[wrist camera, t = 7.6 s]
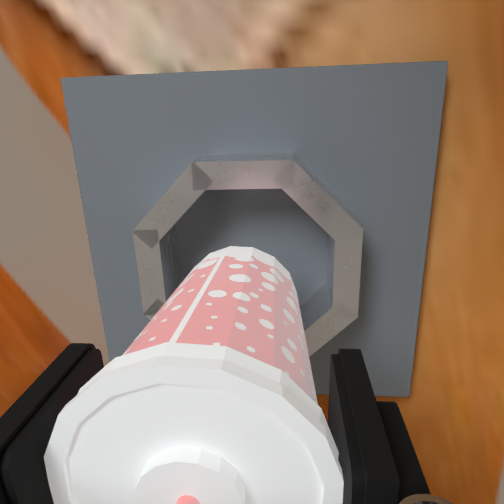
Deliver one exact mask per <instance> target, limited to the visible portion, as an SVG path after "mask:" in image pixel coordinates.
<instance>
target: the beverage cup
mask: <svg viewBox="0 0 504 504" xmlns="http://www.w3.org/2000/svg"><path fill="white" fill-rule="evenodd" d="M338 456H339V452H338V449H337V447H336V444H335V442H334V439H333V437H332V434H331V431H330V429H329V426H328V424H327V421H326V419H325V416H324V414H323V411H322V409H321V408H320V407H319V406H318V402H317V397H316V391H315V386H314V381H313V376H312V370H311V365H310V360H309V354H308V349H307V344H306V339H305V333H304V328H303V323H302V317H301V312H300V307H299V301H298V296H297V292H296V289H295V286H294V284H293V281H292V278H291V276H290V273H289V272H288V271H287V270H286V269H285V268H284V267H283V265H282V264H281V263H280V262H279V261H278V260H277V259H276V258H275V257H274V256H271V255H269V254H267V253H265V252H263V251H260V250H258V249H256V248H254V247H238V246H229V247H227V248H224V249H221V250H218V251H215V252H212V253H209V254H208V255H207V256H206V257H205V258H204V259H203V260H202V261H201V262H200V263H198V264H197V265H196V266H195V267H194V268H193V269H192V271H191V272H190V273H189V274H188V276H187V277H186V278H185V279H184V280H183V282H182V283H181V284H180V285H179V287H178V288H177V289H176V290H175V291H174V293H173V294H172V295H171V296H170V298H169V299H168V300H167V301H166V302H165V304H164V305H163V306H162V307H161V309H160V310H159V311H158V312H157V313H156V315H155V316H154V317H153V318H152V319H151V321H150V322H149V323H148V324H147V326H146V327H145V328H144V329H143V330H142V332H141V333H140V334H139V335H138V337H137V338H136V339H135V340H134V341H133V343H132V344H131V345H130V346H129V348H128V349H127V350H126V351H125V352H124V354H123V355H122V356H119V357H116V358H114V359H113V360H112V361H111V362H110V363H108V364H107V365H106V366H105V367H104V368H103V369H102V370H100V371H99V372H98V373H97V374H96V375H95V376H94V377H93V378H91V379H90V380H89V381H88V382H87V383H86V384H85V385H84V386H82V387H81V388H80V389H79V392H78V394H77V395H76V396H75V397H74V398H73V399H72V400H71V401H70V402H69V403H67V404H66V405H65V407H64V408H63V409H62V411H61V412H60V413H59V414H58V417H57V420H56V423H55V426H54V429H53V432H52V435H51V437H50V440H49V443H48V446H47V449H46V452H45V455H44V461H45V467H46V472H47V477H48V483H49V487H50V490H51V494H52V498H53V502H54V504H343V487H344V480H343V473H342V469H341V466H340V463H339V461H338Z"/></svg>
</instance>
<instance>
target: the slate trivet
mask: <svg viewBox="0 0 504 504" xmlns="http://www.w3.org/2000/svg"><path fill="white" fill-rule="evenodd" d="M447 67H448V61H431V62H409V63H386V64H363V65H341V66H318V67H295V68H272V69H250V70H227V71H204V72H182V73H159V74H136V75H114V76H91V77H68V78H61V84H62V89H63V95H64V101H65V107H66V112H67V118H68V124H69V130H70V135H71V141H72V147H73V152H74V158H75V164H76V170H77V176H78V182H79V187H80V193H81V198H82V204H83V210H84V215H85V222H86V227H87V233H88V239H89V245H90V251H91V256H92V262H93V268H94V273H95V279H96V285H97V291H98V297H99V302H100V308H101V314H102V320H103V325H104V331H105V336H106V342H107V348H108V354H109V360H110V362H111V361H112V360H113V359H114V358H116V357H119V356H122V355H123V354H124V352H125V351H126V350H127V349H128V348H129V346H130V345H131V344H132V343H133V341H134V340H135V339H136V338H137V337H138V335H139V334H140V333H141V332H142V330H143V329H144V328H145V327H146V326H147V324H148V323H149V322H150V321H151V320H150V319H148V318H147V317H146V316H145V315H144V314H143V305H142V298H141V291H140V283H139V276H138V268H137V261H136V254H135V246H134V239H133V232H132V230H133V229H134V228H135V227H136V226H137V225H138V224H139V223H140V222H141V220H142V219H143V218H144V217H145V216H146V215H147V214H148V212H149V211H150V210H151V209H152V208H153V207H154V205H155V204H156V203H157V202H158V201H159V200H160V199H161V197H162V196H163V195H164V194H165V193H166V192H167V190H168V189H169V188H170V187H171V186H172V185H173V184H174V182H175V181H176V180H177V179H178V178H179V177H180V175H181V174H182V173H183V172H184V171H185V170H186V169H187V167H188V166H189V165H190V164H191V162H192V161H194V160H196V159H198V158H200V157H202V156H204V155H206V154H207V155H221V154H261V153H291V152H292V153H294V155H295V156H296V157H297V158H298V159H299V160H300V161H301V162H302V163H303V164H304V165H305V166H306V167H307V168H308V169H309V170H310V171H311V172H312V173H313V174H314V175H315V176H316V177H317V178H318V179H319V180H320V181H321V182H322V183H323V184H324V185H325V186H326V187H327V188H328V189H329V190H330V191H331V192H332V193H333V194H334V195H335V196H336V197H337V198H338V199H339V200H340V201H341V202H342V203H344V204H345V205H346V206H347V207H348V208H349V209H350V210H351V211H352V212H353V213H354V214H355V216H356V218H357V219H358V221H359V222H360V224H361V226H362V227H363V229H364V230H363V241H362V257H361V274H360V290H359V307H358V316H359V317H358V318H356V319H355V320H354V321H353V322H351V323H350V324H349V325H348V326H346V327H345V328H344V329H343V330H342V331H340V332H339V333H338V334H337V335H335V336H334V337H333V338H332V339H331V340H329V341H328V342H327V343H326V344H324V345H323V346H322V347H321V348H320V349H318V350H317V351H316V352H315V353H313V354H312V355H311V356H310V357H309V360H310V365H311V370H312V376H313V381H314V386H315V391H316V394H326V395H329V381H330V356H331V354H338V350H339V348H341V349H361V352H362V355H363V359H364V362H365V365H366V369H367V372H368V375H369V379H370V382H371V385H372V389H373V392H374V395H375V396H393V397H409V394H410V386H411V377H412V368H413V360H414V351H415V343H416V334H417V325H418V317H419V308H420V300H421V291H422V282H423V274H424V265H425V257H426V248H427V239H428V231H429V222H430V213H431V205H432V196H433V188H434V179H435V170H436V162H437V153H438V145H439V136H440V127H441V119H442V110H443V102H444V93H445V84H446V76H447ZM176 228H177V238H178V248H179V259H180V269H181V279H182V282H183V280H184V279H185V278H186V277H187V276H188V274H189V273H190V272H191V271H192V269H193V268H194V267H195V266H196V265H197V264H198V263H200V262H201V261H202V260H203V259H204V258H205V257H206V256H207V255H208V254H209V253H212V252H215V251H218V250H221V249H224V248H227V247H229V246H238V247H254V248H256V249H258V250H260V251H263V252H265V253H267V254H269V255H271V256H274V257H275V258H276V259H277V260H278V261H279V262H280V263H281V264H282V265H283V267H284V268H285V269H286V270H287V271H288V272H289V273H290V276H291V278H292V281H293V284H294V286H295V289H296V292H297V296H298V301H299V306H300V305H301V304H302V303H303V302H305V301H306V300H307V299H308V298H309V297H310V296H311V295H312V294H314V293H315V292H316V291H317V290H318V289H319V288H320V287H322V286H323V285H324V284H325V283H326V282H327V258H328V233H327V232H326V231H325V230H324V229H323V228H322V227H321V226H320V225H319V224H318V223H317V222H316V221H314V220H313V219H312V218H311V217H310V216H309V215H308V214H307V213H306V212H305V211H304V210H303V209H302V208H301V207H300V206H299V205H298V204H297V203H296V202H295V201H294V200H293V199H292V198H291V197H290V196H289V195H288V194H287V193H286V192H285V191H283V190H282V189H224V190H206V191H205V193H204V194H203V195H202V196H201V197H200V198H199V199H198V200H197V201H196V203H195V204H194V205H193V206H192V207H191V208H190V209H189V210H188V211H187V212H186V214H185V215H184V216H183V217H182V218H181V219H180V220H179V221H178V222H177V223H176Z"/></svg>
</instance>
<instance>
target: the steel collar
mask: <svg viewBox="0 0 504 504" xmlns="http://www.w3.org/2000/svg"><path fill="white" fill-rule="evenodd" d="M224 189H282V190H283V191H285V192H286V193H287V194H288V195H289V196H290V197H291V198H292V199H293V200H294V201H295V202H296V203H297V204H298V205H299V206H300V207H301V208H302V209H303V210H304V211H305V212H306V213H307V214H308V215H309V216H310V217H311V218H312V219H313V220H314V221H316V222H317V223H318V224H319V225H320V226H321V227H322V228H323V229H324V230H325V231H326V232H327V233H328V258H327V282H326V283H325V284H324V285H323V286H322V287H320V288H319V289H318V290H317V291H316V292H315V293H314V294H312V295H311V296H310V297H309V298H308V299H307V300H306V301H305V302H303V303H302V304H301V305H300V306H299V307H300V312H301V317H302V323H303V328H304V333H305V339H306V344H307V349H308V354H309V357H310V356H311V355H312V354H313V353H315V352H316V351H317V350H318V349H320V348H321V347H322V346H323V345H324V344H326V343H327V342H328V341H329V340H331V339H332V338H333V337H334V336H335V335H337V334H338V333H339V332H340V331H342V330H343V329H344V328H345V327H346V326H348V325H349V324H350V323H351V322H353V321H354V320H355V319H356V318H358V317H359V316H358V307H359V290H360V274H361V257H362V241H363V230H364V229H363V227H362V226H361V224H360V222H359V221H358V219H357V218H356V216H355V214H354V213H353V212H352V211H351V210H350V209H349V208H348V207H347V206H346V205H345V204H344V203H342V202H341V201H340V200H339V199H338V198H337V197H336V196H335V195H334V194H333V193H332V192H331V191H330V190H329V189H328V188H327V187H326V186H325V185H324V184H323V183H322V182H321V181H320V180H319V179H318V178H317V177H316V176H315V175H314V174H313V173H312V172H311V171H310V170H309V169H308V168H307V167H306V166H305V165H304V164H303V163H302V162H301V161H300V160H299V159H298V158H297V157H296V156H295V155H294V153H292V152H291V153H261V154H221V155H207V154H206V155H204V156H202V157H200V158H198V159H196V160H194V161H192V162H191V164H190V165H189V166H188V167H187V169H186V170H185V171H184V172H183V173H182V174H181V175H180V177H179V178H178V179H177V180H176V181H175V182H174V184H173V185H172V186H171V187H170V188H169V189H168V190H167V192H166V193H165V194H164V195H163V196H162V197H161V199H160V200H159V201H158V202H157V203H156V204H155V205H154V207H153V208H152V209H151V210H150V211H149V212H148V214H147V215H146V216H145V217H144V218H143V219H142V220H141V222H140V223H139V224H138V225H137V226H136V227H135V228H134V229H133V230H132V232H133V239H134V246H135V254H136V261H137V268H138V276H139V283H140V291H141V298H142V305H143V314H144V315H145V316H146V317H147V318H148V319H150V320H151V319H152V318H153V317H154V316H155V315H156V313H157V312H158V311H159V310H160V309H161V307H162V306H163V305H164V304H165V302H166V301H167V300H168V299H169V298H170V296H171V295H172V294H173V293H174V291H175V290H176V289H177V288H178V287H179V285H180V284H181V283H182V279H181V269H180V259H179V248H178V238H177V228H176V223H177V222H178V221H179V220H180V219H181V218H182V217H183V216H184V215H185V214H186V212H187V211H188V210H189V209H190V208H191V207H192V206H193V205H194V204H195V203H196V201H197V200H198V199H199V198H200V197H201V196H202V195H203V194H204V193H205V191H206V190H224Z"/></svg>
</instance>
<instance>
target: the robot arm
mask: <svg viewBox="0 0 504 504" xmlns="http://www.w3.org/2000/svg"><path fill="white" fill-rule="evenodd" d="M103 368H104V366H103V360H102V355H101V351H100V350H99V349H96V348H95V346H94V345H93V344H84V343H72V344H70V345H68V346H67V347H66V348H65V350H64V351H63V352H62V353H61V354H60V355H59V356H58V357H57V358H56V359H55V360H54V361H53V362H52V363H51V364H50V366H49V367H48V368H47V369H46V370H45V371H44V372H43V373H42V374H41V375H40V376H39V377H38V378H37V379H36V380H35V381H34V383H33V384H32V385H31V386H30V387H29V388H28V389H27V390H26V391H25V392H24V393H23V394H22V395H21V396H20V397H19V398H18V400H17V401H16V402H15V403H14V404H13V405H12V406H11V407H10V408H9V409H8V410H7V411H6V412H5V413H4V414H3V416H2V417H1V418H0V504H54V502H53V498H52V494H51V490H50V487H49V483H48V477H47V472H46V467H45V461H44V455H45V452H46V449H47V446H48V443H49V440H50V437H51V435H52V432H53V429H54V426H55V423H56V420H57V417H58V414H59V413H60V412H61V411H62V409H63V408H64V407H65V405H66V404H67V403H69V402H70V401H71V400H72V399H73V398H74V397H75V396H76V395H77V394H78V392H79V389H80V388H81V387H82V386H84V385H85V384H86V383H87V382H88V381H89V380H90V379H91V378H93V377H94V376H95V375H96V374H97V373H98V372H99V371H100V370H102V369H103ZM328 426H329V429H330V431H331V434H332V437H333V439H334V442H335V444H336V447H337V449H338V452H339V456H338V461H339V463H340V466H341V469H342V473H343V480H344V487H343V504H454V503H452V502H450V501H448V500H446V499H444V498H441V497H438V496H434V495H431V494H430V491H429V488H428V486H427V483H426V480H425V478H424V475H423V472H422V469H421V467H420V464H419V461H418V459H417V456H416V453H415V450H414V448H413V445H412V442H411V440H410V437H409V434H408V431H407V429H406V426H405V423H404V421H403V418H402V415H401V413H400V410H399V407H398V405H397V404H396V403H395V402H381V401H376V399H375V395H374V392H373V389H372V385H371V382H370V379H369V375H368V372H367V369H366V365H365V362H364V359H363V355H362V352H361V349H341V348H339V350H338V354H331V356H330V381H329V408H328Z"/></svg>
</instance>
